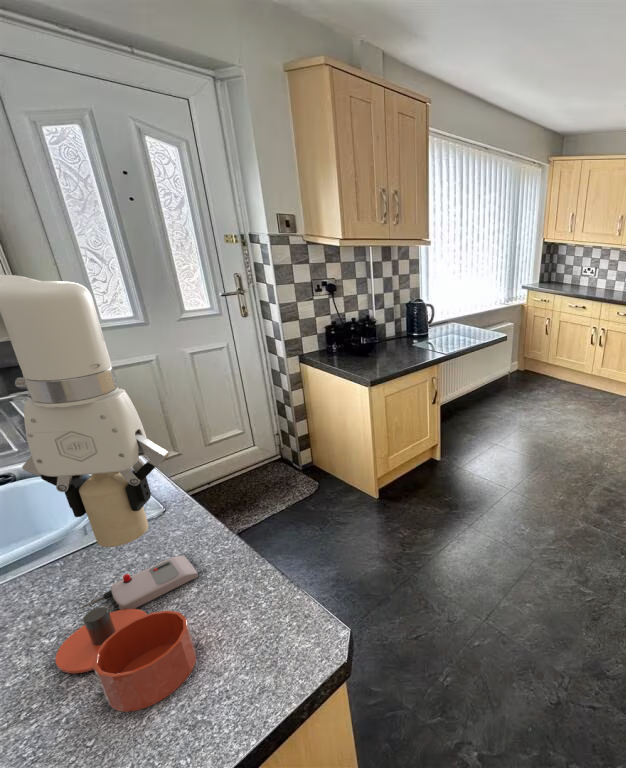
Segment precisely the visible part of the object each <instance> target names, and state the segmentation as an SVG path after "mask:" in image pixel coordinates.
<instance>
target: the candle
mask: <svg viewBox="0 0 626 768" xmlns="http://www.w3.org/2000/svg"><path fill="white" fill-rule="evenodd" d="M86 479H87V480H86V481H85V482H84V483H83V485H82V486H81V487H80V488H79V493H80V496H81V499H82V502H83V504H84V507H85V510H86V513H85V514H86V516H87V518H88V521H89V524H90V527H91V530H92V532H93V535H94V538H95V541H96V543H97V544H98V545H99V546H100V547H102V548H115V547H120V546H124V545H126V544H129V543H131V542H133V541H136V540H137V539H139V538H140V537H142V536H143V535H144V534H146V533H147V531H148V529H149V520H148V518H147V514H146V511H145V508H144V506H143V507H142V508H141V509H140V510H139V511H132V509H131V506H130V503H129V500H128V496H127V493H126V490H125V488H126V486H127V485H128V484H129V483H128V482H127V480H126V479H125V478H124V477H123V476H122V474H121V473H120V472H111V473H99V474H90V476H89V477H88V478H86Z"/></svg>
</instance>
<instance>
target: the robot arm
mask: <svg viewBox="0 0 626 768" xmlns="http://www.w3.org/2000/svg"><path fill="white" fill-rule="evenodd" d="M8 341H10V343H11V346H12V348H13V350H14V355H15V356H16V360H17V363H18V364H19V367H20V368H19V369H20V370H21V373H22V377H17V378H16V379H15V381H14V386H15V387H16V388H17V389H25V390H27V392H28V394H29V397H30V398H29V399H26V400H25V401H24V402H23V420H24V422H23V423H24V429H25V435H26V440H27V443H28V448H29V452H30V457H29V458H28V459H27V460H26V461H25V462H24V463H23V465H22V466H21V467H22V470H23V471H25V472H27V473H30V474H32V475H34V476H36V477H40V478H41V480H43V481H45V482H47V483H49V484H51V485H53V486H55V488H56V490H57V491H58V492H60V493H64V495H65V497H66V500H67V503H68V506H69V508H70V509H71V511H72V513H73V516H74V518H82V517H83V516H85V515H86V514H87V513H86V510H85V507H84V504H83V502H82V499H81V496H80V493H79V488H80V487H81V486H82V485H83V483H84V482H85V481H86V480H87V479H88V478H83V476H84V475H86V476H87V475H92V474H99V473H111V472H120V473H121V474H122V476H123V477H124V478H125V479H126V480H127V482H128V483H129V484H128V485H127V486H126V488H125V490H126V493H127V496H128V500H129V503H130V506H131V509H132V511H139V510H140V509H141V508H142V507H144V506H145V505H146V504H147V502H148V501H149V500H150V499H151V496H152V492H151V488H150V486H149V482H148V479H147V476H149V474H150V473H152V471H154V469H155V468H157V467H158V466H159V465H160V464H161V463H162V462H164V460H166V459H167V458H168V456H169V455H170V453H169V451H168V450H166V449H164V448H162V447H161V446H159V445H158V444H156V443H155V442H153V441H151V440H150V439H148V437H147V434H146V432H145V429H144V426H143V423H142V421H141V420H142V419H141V418H140V415H139V414H138V411H137V409H136V407H135V405H134V404H133V403H134V402H133V401H132V400H131V398H130V396H129V395H128V393H127V391H126V390H125V389H124V388H119V386H118V382H117V378H116V376H115V372H114V368H113V365H112V361H111V357H110V354H109V351H108V348H107V344H106V340H105V337H104V334H103V330H102V326H101V323H100V319H99V316H98V312H97V309H96V305H95V302H94V298H93V296H92V293H91V292H90V291H89V289H88V288H87V287H86V286H84V285H82V284H80V283H77V282H71V281H63V280H61V281H58V280H39V279H34V278H31V277H26V276H22V275H15V274H0V343H3V342H8ZM144 455H145V456H147V457H148V460H147V461H146V462H144V461H143V460H142V459H141V457H142V456H144Z"/></svg>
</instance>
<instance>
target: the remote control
mask: <svg viewBox="0 0 626 768" xmlns="http://www.w3.org/2000/svg"><path fill="white" fill-rule="evenodd" d="M197 578H199V574H198V572H197V570H196V568H195V567H194V566H193V564H192V563H191V562H190V561H189V560H188V558H187V557H186V556H185V555H178V556H177V555H176V556H172V557H170V558H168V559H165V560H162V561H161V562H159V563H157V564H154V565H152V566H149V567H148V568H145V569H144V570H142V571H139V572H136V573H135V574H132V575H130V574H128V573H125V574H124V575H123V576H122V580H120V581H117V582H115V583H113V584H112V585H111V588H110V590H109V591H107V592H105V593H103V595H102V596H100V597H98V598H96V599H93V600H91V602H87V603H86V604H84V605H82V606H81V609H84V608H87V607H89V606H91V605H93V604H96V603H99V602H101V601H103V600H109V599H111V598H112V597H113V598H112V599H113V601H112V602H111V603H109V604H106V605H105V607H107V608H108V607H109V608H108V610H109V611H111V610H112V609H113V610H114V609H117V608H118V610H123V609H138V608H139V607H141V606H144V605H145V604H147V603H149V602H151V601H152V600H155V599H156V598H158V597H162V596H163V595H165V594H166V593H169V592H171V591H173V590H174V589H177V588H179V587H180V586H182V585H185V584H186V583H188V582H190V581H192V580H195V579H197ZM110 606H111V607H110Z"/></svg>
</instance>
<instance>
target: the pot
mask: <svg viewBox="0 0 626 768" xmlns="http://www.w3.org/2000/svg"><path fill="white" fill-rule="evenodd" d="M196 661H197V653H196V647H195V644H194V640H193V637H192V633H191V629H190V626H189V623H188V619H187V618H186V617H185V616H184V614H183V613H181V612H180V611H174V610H167V609H166V610H162V611H155V612H150V613H147V615H145V616H143V617H140V618H137V619H135V620H133V621H131V622H130V623H128V624H126V625H125V626H123V627H121V628H120V629H118V630H117V631H116V632H115V633H113V634H112V635H111V636H110V637H109V638H108V639H106V640H105V641H104V642H103V644H102V645H101V647H100V648H99V650H98V651H97V652H96V654H95V656H94V663H93V668H94V670H93V671H94V674H95V676H96V678H97V680H98V683H99V685H100V687H101V690H102V693H103V695H104V697H105V700H106V701H107V703H108V705H109V706H110V707H111V708H112V709H113V710H115V711H118V712H123V713H126V712H128V713H129V712H136V711H140V710H143V709H146V708H148V707H151V706H153V705H155V704H158V703H160V701H163V700H165V699H166V698H168V697H169V696H170V695H172V694H173V693H174V692H175V691H176V690H177V689H179V688H180V687H181V686H182V685H183V684H184V683H185V682H186V680H187V679H188V678H189V676H190V675H191V673H192V672H193V670H194V668H195V665H196Z"/></svg>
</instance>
